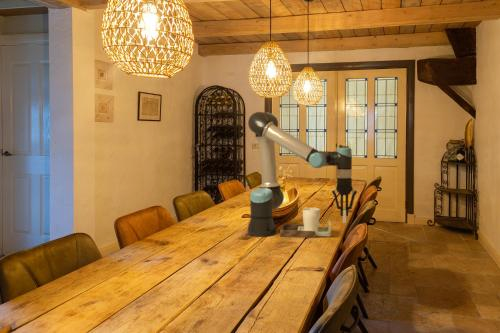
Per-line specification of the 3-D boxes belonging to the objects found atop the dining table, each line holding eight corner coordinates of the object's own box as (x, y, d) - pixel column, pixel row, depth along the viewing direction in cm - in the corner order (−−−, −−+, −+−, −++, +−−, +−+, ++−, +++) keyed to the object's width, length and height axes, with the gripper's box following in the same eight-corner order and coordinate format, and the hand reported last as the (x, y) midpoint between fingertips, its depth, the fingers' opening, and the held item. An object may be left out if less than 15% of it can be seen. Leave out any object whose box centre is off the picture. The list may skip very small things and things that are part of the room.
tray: (297, 235, 232) (297, 223, 231) (298, 229, 245) (298, 218, 244) (330, 236, 229) (331, 224, 229) (330, 230, 242) (330, 219, 242)
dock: (280, 236, 232) (280, 230, 232) (282, 229, 248) (282, 223, 247) (315, 237, 229) (315, 231, 229) (315, 230, 245) (315, 224, 245)
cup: (319, 233, 232) (319, 210, 231) (301, 233, 234) (301, 210, 233) (320, 229, 241) (320, 207, 240) (303, 229, 243) (303, 207, 242)
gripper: (331, 178, 230) (331, 223, 232) (357, 178, 228) (357, 223, 230) (331, 176, 237) (331, 220, 239) (356, 176, 235) (356, 221, 237)
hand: (344, 222), depth 234 cm, fingers closed
